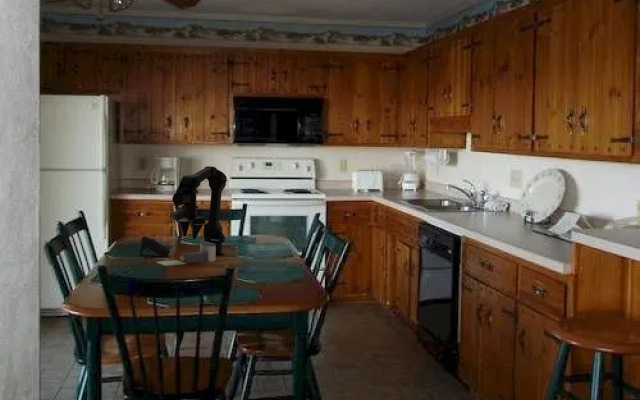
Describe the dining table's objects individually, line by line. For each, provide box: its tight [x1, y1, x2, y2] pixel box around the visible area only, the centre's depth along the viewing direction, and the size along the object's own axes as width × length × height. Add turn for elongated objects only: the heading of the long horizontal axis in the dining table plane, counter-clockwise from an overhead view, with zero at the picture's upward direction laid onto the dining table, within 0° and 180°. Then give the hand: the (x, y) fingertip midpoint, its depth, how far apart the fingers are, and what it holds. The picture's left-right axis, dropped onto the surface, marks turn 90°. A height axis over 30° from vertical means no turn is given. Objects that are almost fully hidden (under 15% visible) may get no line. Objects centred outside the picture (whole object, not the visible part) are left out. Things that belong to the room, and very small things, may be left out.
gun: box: [139, 236, 172, 259], centre depth 331 cm, size 3×16×10 cm, turn 78°
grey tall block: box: [179, 251, 209, 264], centre depth 322 cm, size 15×4×4 cm, turn 131°
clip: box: [199, 240, 217, 263], centre depth 326 cm, size 3×9×8 cm, turn 39°
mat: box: [155, 259, 187, 267], centre depth 315 cm, size 10×9×1 cm
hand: (189, 237), depth 319 cm, fingers open, 9 cm apart
